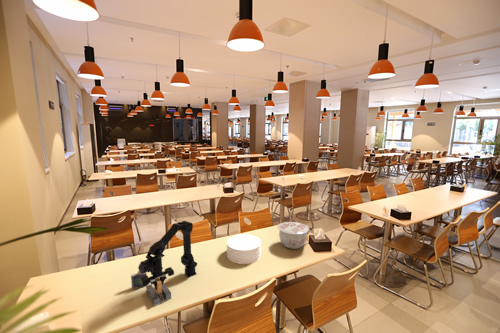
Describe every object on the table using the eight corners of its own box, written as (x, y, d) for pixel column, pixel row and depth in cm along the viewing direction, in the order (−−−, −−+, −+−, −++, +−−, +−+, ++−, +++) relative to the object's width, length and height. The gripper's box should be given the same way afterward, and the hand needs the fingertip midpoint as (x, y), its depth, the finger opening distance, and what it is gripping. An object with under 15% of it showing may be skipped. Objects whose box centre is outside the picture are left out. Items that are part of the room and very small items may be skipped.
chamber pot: (274, 250, 201) (274, 227, 198) (279, 236, 227) (280, 216, 224) (307, 255, 193) (309, 231, 190) (309, 240, 219) (310, 219, 216)
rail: (162, 285, 155) (162, 279, 155) (171, 298, 143) (171, 292, 142) (146, 291, 149) (146, 286, 148) (154, 306, 137) (154, 300, 136)
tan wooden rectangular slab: (158, 287, 149) (158, 276, 147) (162, 292, 144) (161, 281, 143) (155, 289, 147) (154, 278, 146) (158, 294, 142) (157, 283, 141)
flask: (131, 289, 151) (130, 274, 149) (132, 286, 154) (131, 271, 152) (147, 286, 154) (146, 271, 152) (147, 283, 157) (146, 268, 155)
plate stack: (261, 264, 180) (261, 250, 178) (224, 263, 181) (224, 250, 179) (260, 246, 208) (260, 234, 206) (229, 246, 208) (228, 233, 207)
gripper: (167, 254, 155) (168, 276, 157) (137, 265, 143) (138, 288, 146) (173, 262, 146) (174, 285, 149) (142, 273, 135) (143, 298, 137)
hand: (158, 288), depth 145 cm, fingers closed on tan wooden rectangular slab, 2 cm apart
